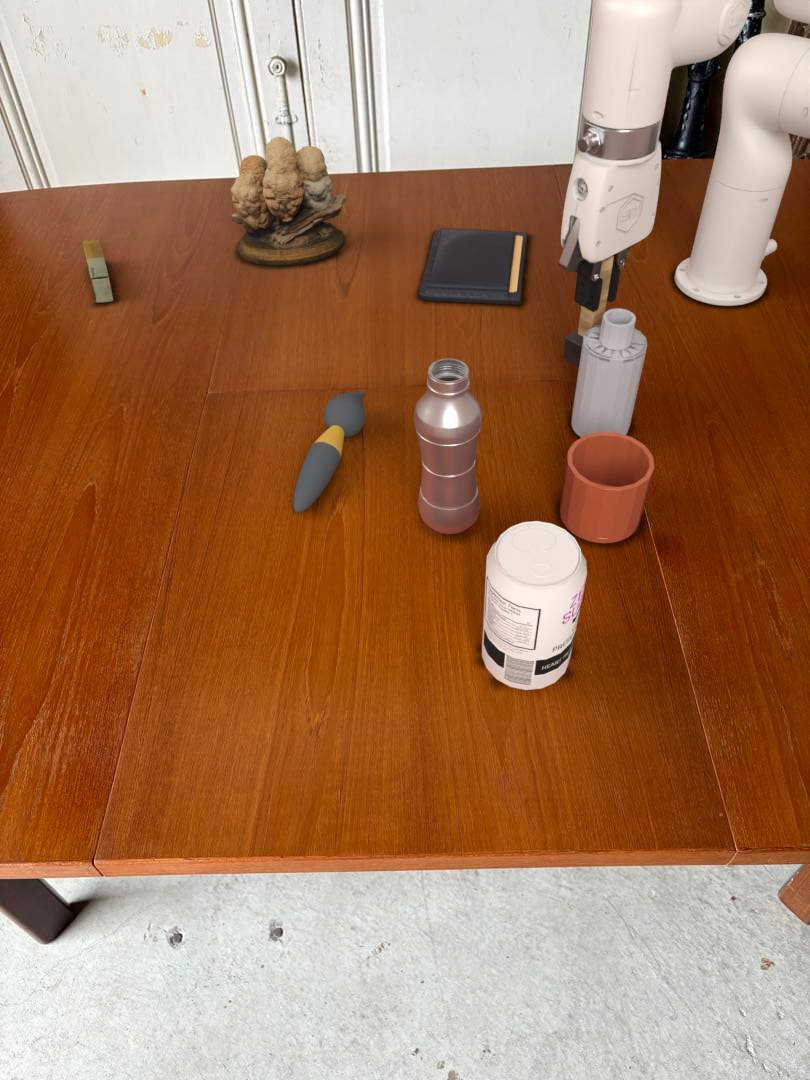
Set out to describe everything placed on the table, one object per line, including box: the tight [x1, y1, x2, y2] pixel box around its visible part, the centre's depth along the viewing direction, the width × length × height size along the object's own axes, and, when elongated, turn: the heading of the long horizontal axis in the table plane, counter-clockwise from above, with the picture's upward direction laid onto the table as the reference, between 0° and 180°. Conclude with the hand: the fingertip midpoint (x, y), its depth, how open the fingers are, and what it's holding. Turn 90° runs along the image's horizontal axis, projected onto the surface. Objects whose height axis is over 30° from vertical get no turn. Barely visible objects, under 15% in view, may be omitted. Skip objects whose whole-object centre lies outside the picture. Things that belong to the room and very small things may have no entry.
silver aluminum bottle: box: [413, 358, 483, 535], centre depth 81 cm, size 6×7×20 cm
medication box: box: [82, 239, 114, 304], centre depth 123 cm, size 12×3×4 cm, turn 21°
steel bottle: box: [571, 307, 648, 438], centre depth 92 cm, size 7×7×15 cm
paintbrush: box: [292, 391, 367, 514], centre depth 94 cm, size 20×5×5 cm, turn 167°
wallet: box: [418, 228, 528, 306], centre depth 122 cm, size 20×2×15 cm
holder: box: [559, 432, 655, 544], centre depth 85 cm, size 9×9×8 cm
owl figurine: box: [230, 136, 348, 267], centre depth 123 cm, size 18×12×17 cm, turn 96°
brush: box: [562, 256, 614, 369], centre depth 93 cm, size 5×3×13 cm, turn 128°
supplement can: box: [481, 520, 588, 691], centre depth 71 cm, size 8×8×15 cm
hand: (594, 300), depth 92 cm, fingers closed on brush, 2 cm apart
